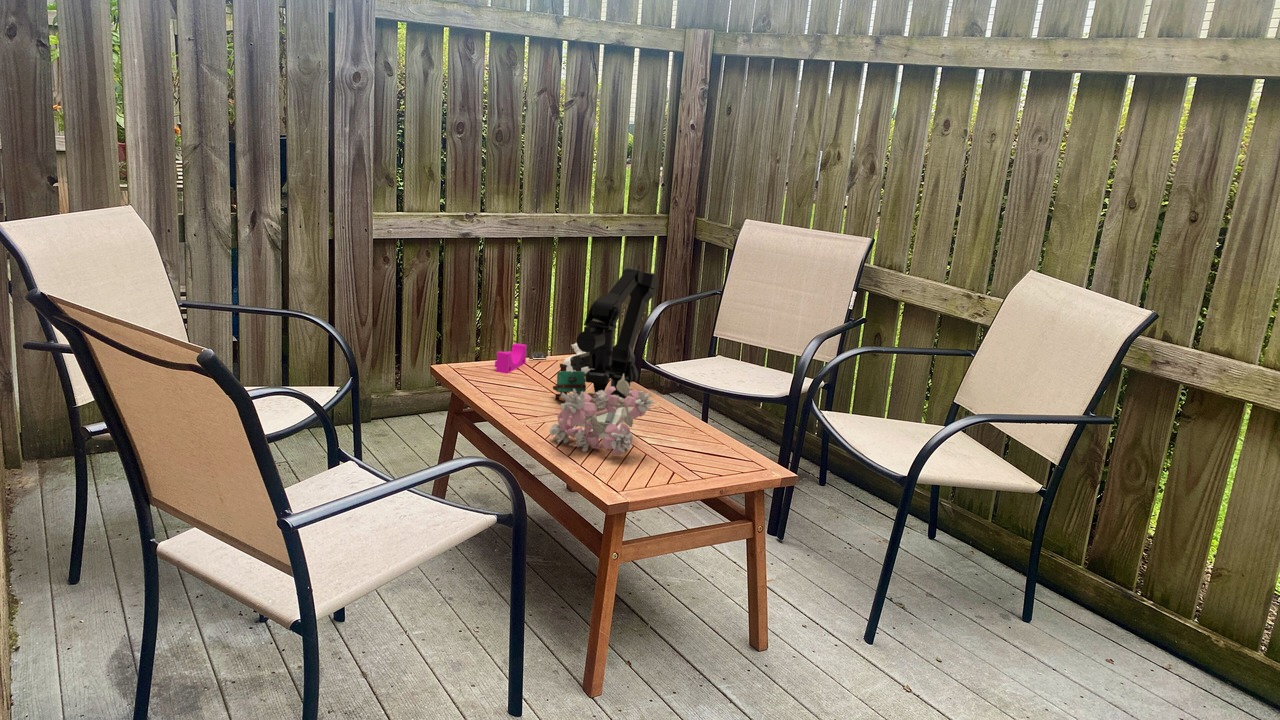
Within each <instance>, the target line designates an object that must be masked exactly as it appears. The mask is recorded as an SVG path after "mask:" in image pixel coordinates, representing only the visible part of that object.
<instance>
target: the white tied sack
mask: <svg viewBox="0 0 1280 720" xmlns="http://www.w3.org/2000/svg"><path fill="white" fill-rule="evenodd" d="M571 348H572V349H573V351H574V352H575V353H576V354H574V355H573V354H572V355H570V356H568V357H566V358H564V359H563V362H562V364H565V365H567V367H566V371H571V372H573V371H576V370H573V369H572V366H571V365H570V364H571V362H570V359H571V357H573V356H576V355H580V354H584V353H587V352H583V351H581V350H580V349H579V348H578V346H577V342H575V343H574V344H571ZM589 370H590V369H588V366H587V367H583V368H581V371H584V374H586V373H587V372H588V371H589Z"/></svg>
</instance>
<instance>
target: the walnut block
mask: <svg viewBox="0 0 1280 720" xmlns="http://www.w3.org/2000/svg"><path fill="white" fill-rule="evenodd" d="M587 394H588V395H590V396H591V397H592V398H596V397H594V396H597V394H596V395H595V392H594V393H593V392H588V393H587ZM591 403H595V402H594V401H592V402H591ZM596 403H597V402H596ZM596 403H595V404H596ZM602 410H605V408H597V411H596V412H599V411H602Z"/></svg>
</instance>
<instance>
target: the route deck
mask: <svg viewBox="0 0 1280 720" xmlns="http://www.w3.org/2000/svg"><path fill="white" fill-rule="evenodd" d="M581 392H582V391H578V393H577V394H578V395H579V396H580V394H581ZM616 396H619V395H616ZM623 408H624V407H622V408H618V409H616V410H615V412H608V413H605V414H603V415H600V416H597V421H598V422H599V423H611V424H616V423H617V421H618V420H619V418H620V417H621V412H622V409H623ZM570 416H572V413H571V414H570ZM623 422H624V421H623V420H622V422H621V423H620V424H619V425H618V426H617V428H618V429H619V431H620V429H621V424H622V423H623ZM557 424H558V423H557ZM623 424H624V423H623ZM558 425H559V424H558ZM577 427H582V429H583V432H582V433H584V434H585V432H584V429H585V424H583V425H577V426H576V425H575V426H574V427H573V428H572V429H576V428H577ZM583 427H584V428H583ZM592 431H593V429H592V430H591V431H590V432H592ZM603 437H610V436H608V435H607V434H606V433H602V434H600V435H599V437H598V439H599V440H600V439H601V440H602V439H603Z"/></svg>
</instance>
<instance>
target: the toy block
mask: <svg viewBox="0 0 1280 720" xmlns="http://www.w3.org/2000/svg"><path fill="white" fill-rule="evenodd" d="M511 347H512V348H511V351H509V350H508V351H501V350H500V351H498V352H497V354H496V360H495V361H494V367H495V368H496V369H495V371H496V373H500V374H501V373H502V374H506V375H507V374H509V373H511V372H514V371H515V370H516V369H518V368H520V367H523V364H524V365H525V364H526V363H527V349H528V348H527V347H528V346H527V344H523V343H516V342H515V343H514V344H512V345H511Z"/></svg>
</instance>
